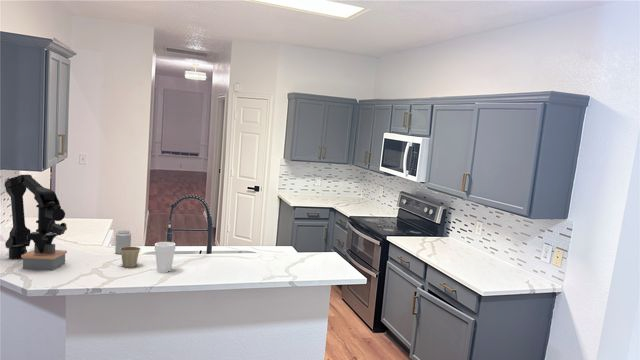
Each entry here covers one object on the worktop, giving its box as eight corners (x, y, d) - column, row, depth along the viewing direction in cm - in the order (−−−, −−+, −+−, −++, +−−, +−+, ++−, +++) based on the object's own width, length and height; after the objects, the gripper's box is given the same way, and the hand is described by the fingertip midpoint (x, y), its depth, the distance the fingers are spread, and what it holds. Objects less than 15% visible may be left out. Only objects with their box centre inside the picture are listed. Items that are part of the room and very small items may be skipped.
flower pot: (143, 266, 221) (144, 249, 220) (124, 269, 214) (124, 251, 213) (134, 262, 227) (135, 245, 227) (115, 265, 220) (116, 247, 220)
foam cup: (178, 269, 220) (179, 243, 219) (166, 274, 211) (167, 247, 210) (162, 266, 223) (163, 241, 222) (149, 271, 214) (150, 244, 213)
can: (124, 255, 239) (125, 233, 238) (112, 253, 241) (112, 231, 240) (133, 252, 247) (134, 230, 246) (121, 250, 248) (121, 229, 247)
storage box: (22, 270, 203) (23, 257, 202) (36, 264, 213) (36, 251, 213) (52, 272, 203) (53, 259, 203) (64, 265, 214) (65, 253, 214)
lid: (21, 260, 202) (21, 246, 201) (36, 253, 214) (36, 240, 213) (53, 261, 203) (53, 248, 202) (66, 255, 214) (67, 242, 214)
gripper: (52, 222, 198) (52, 257, 199) (73, 215, 216) (72, 247, 218) (26, 221, 197) (25, 256, 198) (49, 214, 216) (48, 246, 217)
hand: (44, 251), depth 208 cm, fingers open, 5 cm apart
